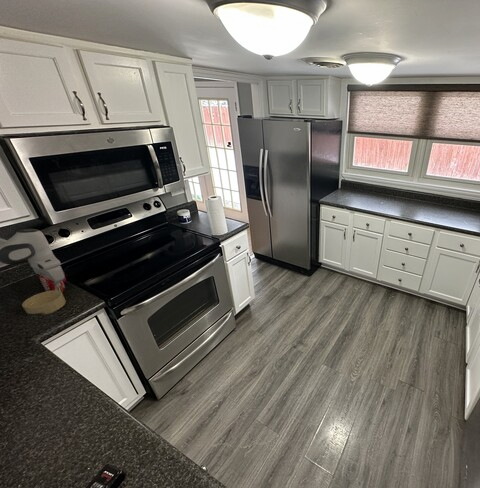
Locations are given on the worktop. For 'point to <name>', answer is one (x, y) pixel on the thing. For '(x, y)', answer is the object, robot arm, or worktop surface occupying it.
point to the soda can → (50, 284)
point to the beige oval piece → (44, 302)
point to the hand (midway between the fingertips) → (53, 284)
